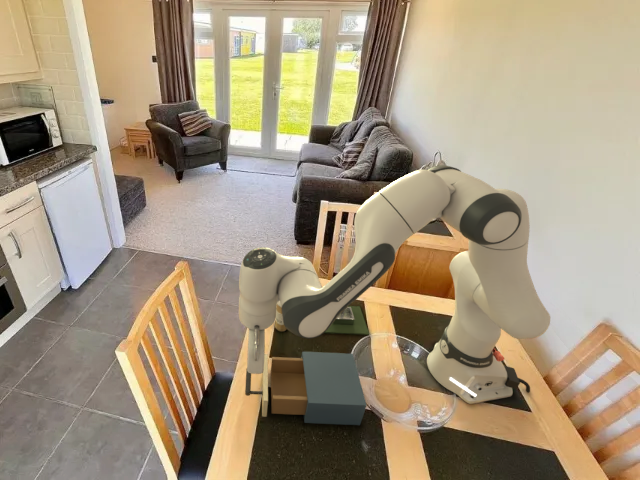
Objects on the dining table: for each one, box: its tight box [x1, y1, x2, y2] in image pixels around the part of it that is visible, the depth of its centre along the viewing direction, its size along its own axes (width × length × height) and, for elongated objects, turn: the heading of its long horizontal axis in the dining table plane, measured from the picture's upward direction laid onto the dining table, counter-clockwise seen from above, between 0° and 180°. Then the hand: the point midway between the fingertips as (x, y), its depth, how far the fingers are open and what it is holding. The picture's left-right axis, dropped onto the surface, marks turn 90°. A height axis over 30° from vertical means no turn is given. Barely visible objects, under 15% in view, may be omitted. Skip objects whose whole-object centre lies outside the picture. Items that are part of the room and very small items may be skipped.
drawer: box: [244, 353, 308, 418], centre depth 87 cm, size 18×13×7 cm
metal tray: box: [333, 307, 355, 325], centre depth 110 cm, size 7×5×11 cm
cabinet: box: [300, 351, 368, 426], centre depth 87 cm, size 15×14×9 cm
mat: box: [323, 305, 370, 336], centre depth 113 cm, size 16×12×1 cm
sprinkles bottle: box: [274, 301, 288, 332], centre depth 106 cm, size 5×5×14 cm
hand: (255, 348), depth 80 cm, fingers closed
